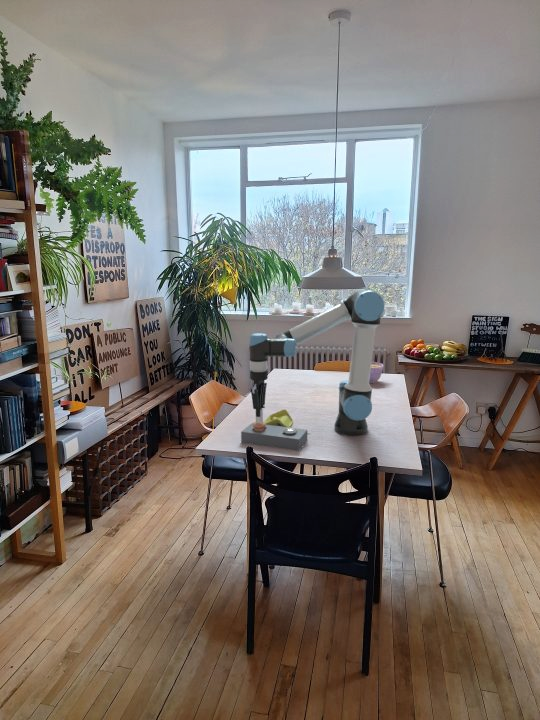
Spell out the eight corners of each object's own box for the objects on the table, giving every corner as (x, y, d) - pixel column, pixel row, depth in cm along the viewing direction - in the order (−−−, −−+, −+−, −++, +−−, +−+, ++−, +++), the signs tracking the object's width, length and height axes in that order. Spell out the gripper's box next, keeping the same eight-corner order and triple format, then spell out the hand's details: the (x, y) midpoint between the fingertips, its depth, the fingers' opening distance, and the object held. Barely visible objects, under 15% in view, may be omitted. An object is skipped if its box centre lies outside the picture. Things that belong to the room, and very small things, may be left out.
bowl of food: (388, 381, 303) (389, 364, 300) (373, 387, 288) (374, 369, 286) (361, 376, 316) (362, 360, 313) (345, 382, 301) (346, 364, 299)
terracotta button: (267, 435, 204) (267, 422, 203) (263, 439, 199) (262, 426, 198) (256, 433, 206) (255, 420, 205) (251, 437, 201) (250, 424, 200)
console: (307, 440, 201) (307, 429, 200) (298, 450, 190) (299, 439, 189) (252, 433, 210) (252, 422, 209) (241, 442, 199) (241, 431, 198)
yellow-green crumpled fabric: (269, 415, 229) (287, 407, 226) (275, 428, 229) (293, 421, 226) (260, 425, 209) (279, 417, 207) (267, 440, 210) (286, 432, 207)
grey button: (298, 441, 199) (298, 428, 198) (294, 446, 194) (294, 432, 193) (285, 439, 201) (285, 426, 200) (281, 444, 196) (281, 431, 195)
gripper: (256, 366, 204) (257, 417, 209) (244, 372, 192) (245, 426, 197) (272, 367, 201) (272, 419, 206) (261, 374, 189) (261, 428, 194)
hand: (259, 423), depth 201 cm, fingers closed
